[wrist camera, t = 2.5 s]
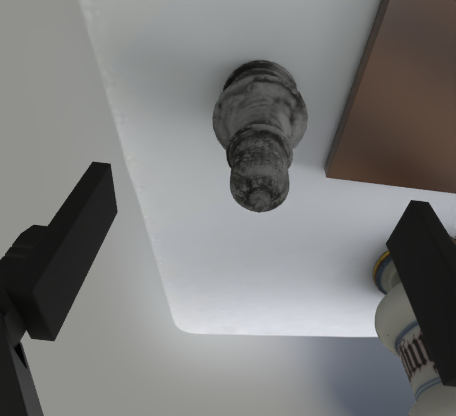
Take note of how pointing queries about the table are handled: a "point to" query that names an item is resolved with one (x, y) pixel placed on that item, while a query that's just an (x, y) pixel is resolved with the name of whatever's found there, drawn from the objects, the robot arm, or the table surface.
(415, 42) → the walnut board
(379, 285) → the apothecary jar
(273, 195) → the grey tapered rounded piece
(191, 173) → the table surface
